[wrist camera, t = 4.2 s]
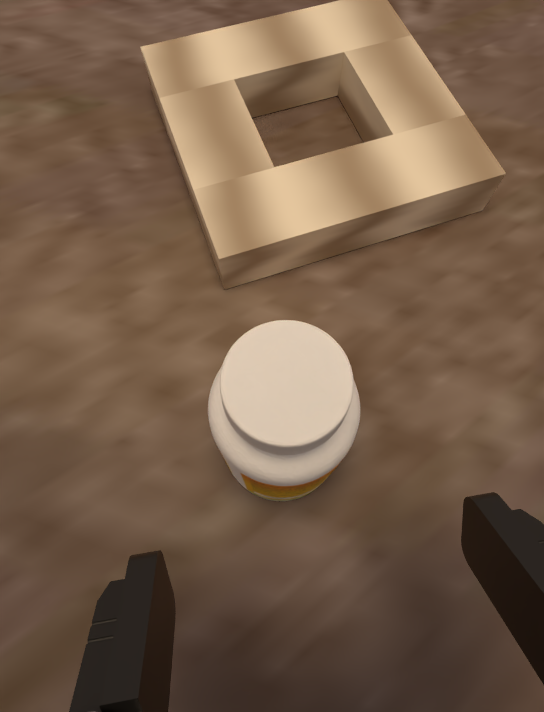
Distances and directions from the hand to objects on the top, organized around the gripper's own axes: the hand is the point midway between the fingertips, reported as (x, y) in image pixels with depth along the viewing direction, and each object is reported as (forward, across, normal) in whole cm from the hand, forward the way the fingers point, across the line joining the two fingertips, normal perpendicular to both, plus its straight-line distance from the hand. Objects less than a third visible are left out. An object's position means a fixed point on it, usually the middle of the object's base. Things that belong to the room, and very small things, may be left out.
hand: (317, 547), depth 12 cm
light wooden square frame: (+23, -5, -9) cm, 25 cm away
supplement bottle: (+10, 0, +4) cm, 11 cm away
